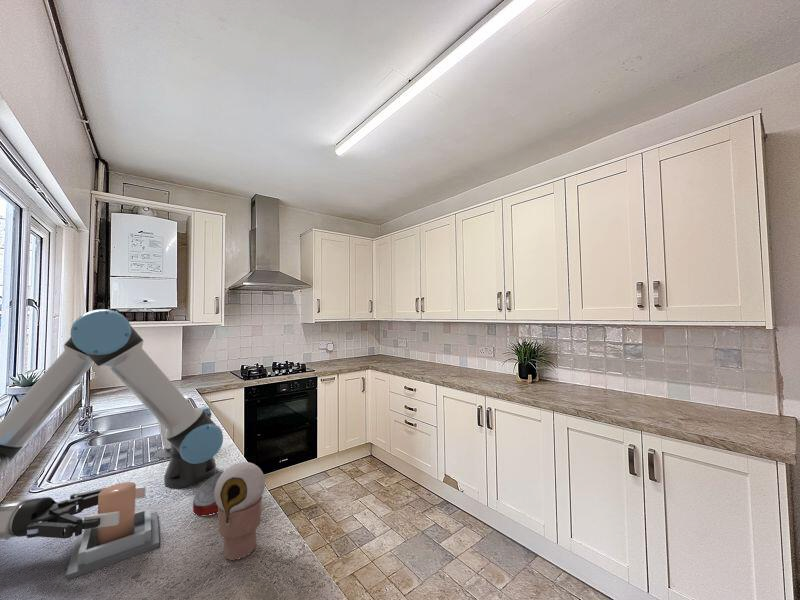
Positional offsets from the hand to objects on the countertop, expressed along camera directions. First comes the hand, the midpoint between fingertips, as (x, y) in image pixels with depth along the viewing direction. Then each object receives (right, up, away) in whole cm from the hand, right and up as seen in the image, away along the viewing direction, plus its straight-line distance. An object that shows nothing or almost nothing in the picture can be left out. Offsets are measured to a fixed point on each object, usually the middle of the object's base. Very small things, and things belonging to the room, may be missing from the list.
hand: (132, 504), depth 82 cm
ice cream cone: (+29, -9, -4) cm, 30 cm away
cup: (-27, -12, +53) cm, 61 cm away
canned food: (+12, -10, +14) cm, 21 cm away
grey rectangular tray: (-3, -9, -1) cm, 9 cm away
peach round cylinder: (-3, -8, -1) cm, 9 cm away
